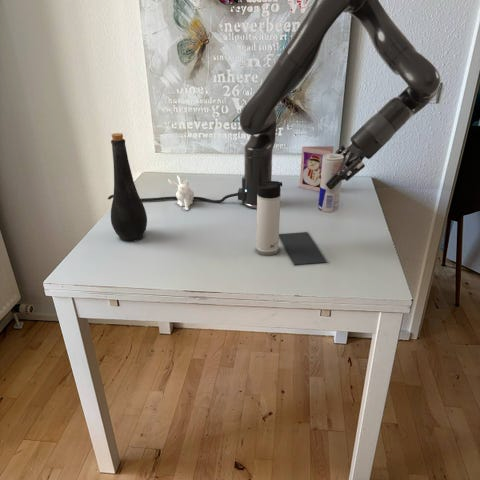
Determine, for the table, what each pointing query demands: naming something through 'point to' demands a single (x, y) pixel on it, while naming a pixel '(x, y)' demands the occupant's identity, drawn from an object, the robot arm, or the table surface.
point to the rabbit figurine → (183, 193)
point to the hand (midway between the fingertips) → (324, 183)
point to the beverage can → (329, 169)
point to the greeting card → (312, 166)
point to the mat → (301, 248)
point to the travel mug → (268, 217)
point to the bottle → (125, 196)
